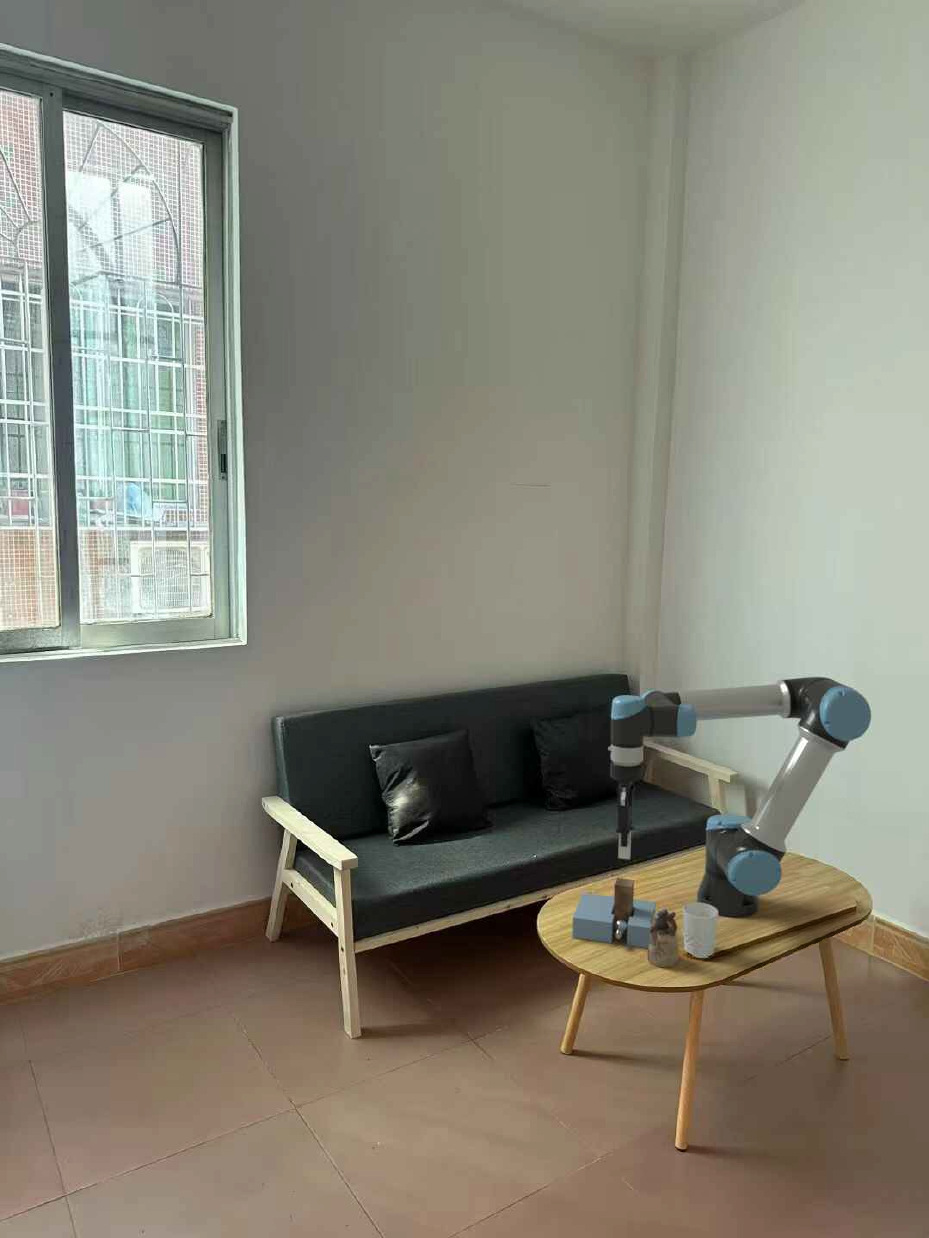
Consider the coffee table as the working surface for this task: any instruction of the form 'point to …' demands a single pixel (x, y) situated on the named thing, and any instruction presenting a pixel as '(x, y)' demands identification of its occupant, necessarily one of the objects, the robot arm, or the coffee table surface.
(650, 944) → the figurine
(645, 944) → the socket board
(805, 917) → the coffee table surface
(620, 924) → the plunger
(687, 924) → the white cup
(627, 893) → the peg
